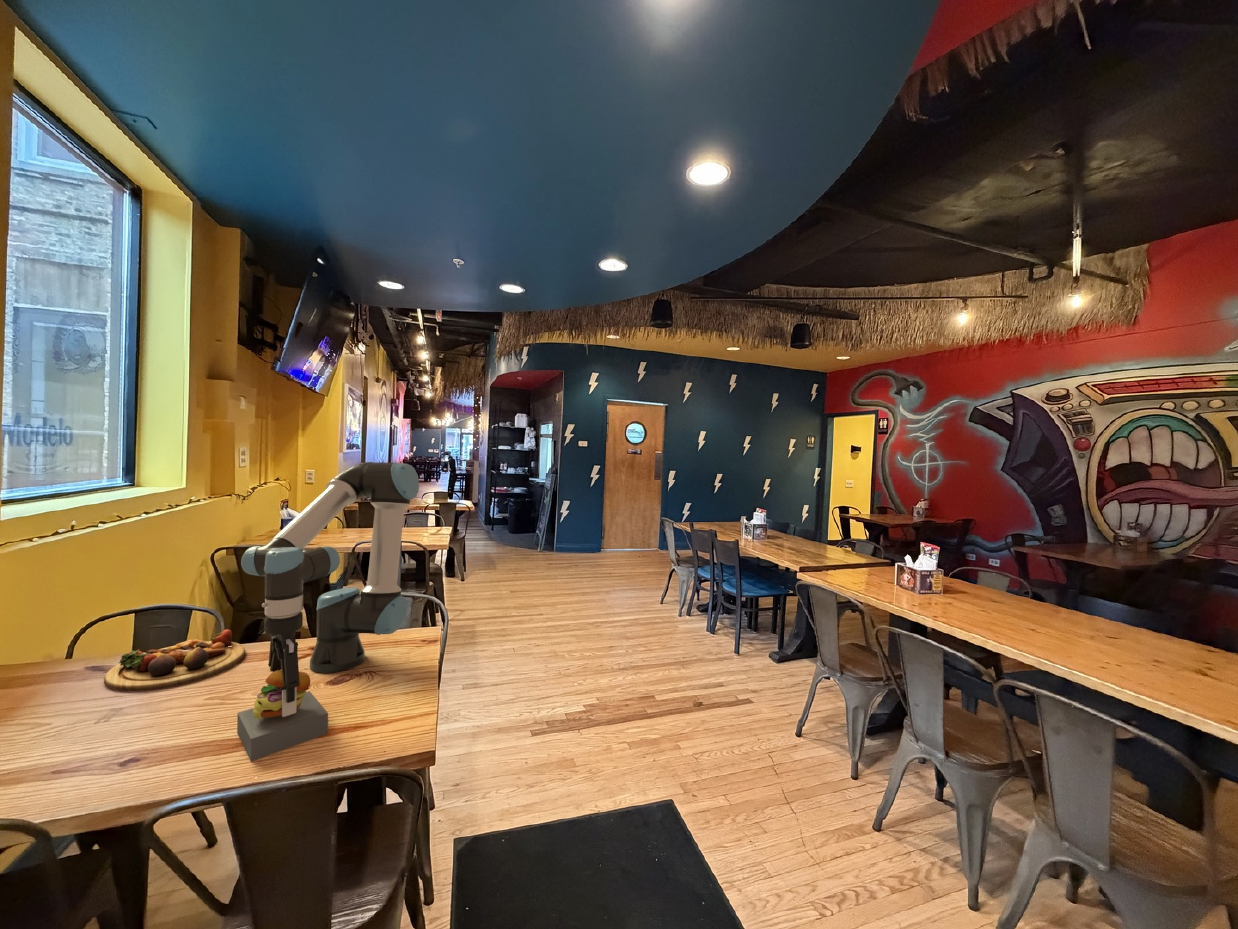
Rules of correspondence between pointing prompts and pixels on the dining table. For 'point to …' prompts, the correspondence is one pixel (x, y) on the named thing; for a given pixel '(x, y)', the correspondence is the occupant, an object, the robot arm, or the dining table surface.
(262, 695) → the cheeseburger
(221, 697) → the dining table surface
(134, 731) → the dining table surface
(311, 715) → the tray
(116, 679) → the wooden plate with food
